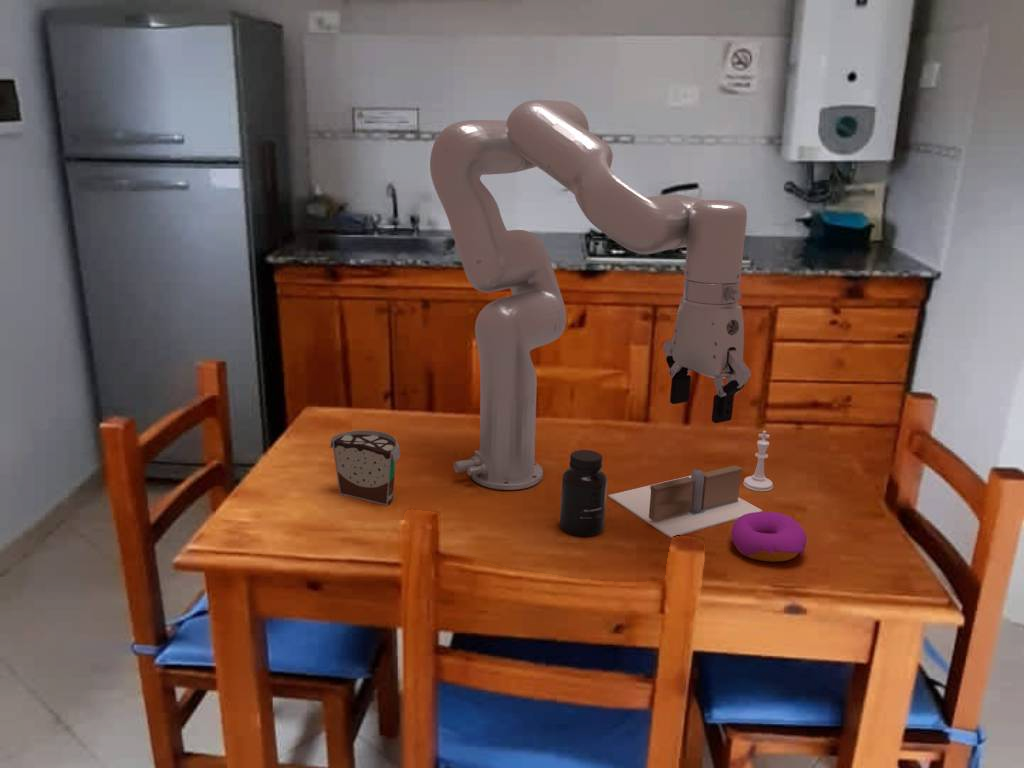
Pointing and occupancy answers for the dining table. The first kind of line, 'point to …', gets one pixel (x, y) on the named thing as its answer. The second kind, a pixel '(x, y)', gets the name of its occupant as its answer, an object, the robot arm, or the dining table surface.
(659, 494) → the fence panel
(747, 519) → the donut
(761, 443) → the chess piece
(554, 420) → the dining table surface
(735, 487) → the fence base
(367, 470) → the food container
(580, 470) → the supplement bottle
